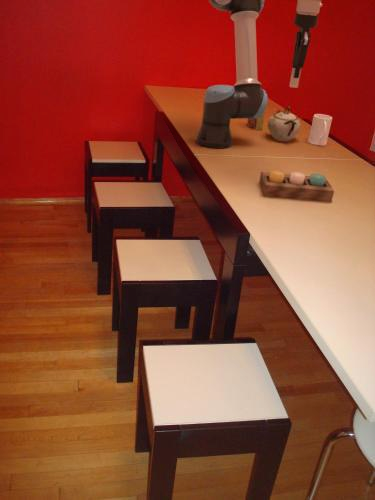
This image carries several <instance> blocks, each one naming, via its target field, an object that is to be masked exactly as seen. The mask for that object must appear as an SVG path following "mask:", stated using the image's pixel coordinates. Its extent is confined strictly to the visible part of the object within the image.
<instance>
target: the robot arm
mask: <svg viewBox="0 0 375 500" xmlns="http://www.w3.org/2000/svg"><path fill="white" fill-rule="evenodd" d="M208 2H209V3H210V5H211V6H212V7H214V9H216V10H218V11H221V12H222V11H223V12H229V13H230V19H231V20H232V21H233V22H234V40H235V42H234V44H235V47H234V48H235V49H234V50H235V66H236V67H235V69H236V72H235V73H236V82H235V84H234V85H230V84H229V85H228V84H215V85H211V86H209V87H207V89H206V90H205V92H204V93H205V94H204V98H203V109H202V119H201V125H200V127H199V130H198V132H197V134H196V138H195V142H196V143H197V144H198V145H199V146H202V147H205V148H209V149H211V148H212V149H227V148H229V147H231V146H232V141H233V139H232V134H231V129H230V124H231V120H232V119H233V120H236V119H248V118H249V119H252V118H259V117H260V116H262V115H263V113H264V111H265V112H266V109H267V106H268V94H267V91H266V90H265V89H262V82H260V81H258V60H257V56H258V55H257V54H258V53H257V30H256V29H257V27H256V25H257V24H256V22H257V21H256V20H257V19H258V17H259V16H260V13H261V12H262V10H263V9H264V4H265V0H208ZM322 7H323V3H322V0H297V3H296V8H295V11H296V12H297V13H296V14H295V16H294V21H293V25H294V26H296V27H299V28H298V31H297V32H296V34H295V36H294V37H295V38H294V39H295V40H294V47H293V53H292V54H293V55H292V62H291V64H292V66H291V67H292V70H291V75H290V81H289V87H290V88H295V89H297V88H298V89H299V81H300V77H301V73H302V68H304V66H305V61H306V57H307V53H308V49H309V45H310V44H311V43H310V42H311V33H310V30H311V29H315V28H317V27H318V26H317V25H318V21H319V20H318V19H319V16H318V14H320V8H322Z"/></svg>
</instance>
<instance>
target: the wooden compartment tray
mask: <svg viewBox="0 0 375 500" xmlns="http://www.w3.org/2000/svg"><path fill="white" fill-rule="evenodd" d="M290 175H291V174H288V173H286V174H284V179H283V183H274V182H269V176H270V172H264V171H262V172H260V176H259V181H258V184H259V187H260V190H261V194H262V196H263V197H268V198H279V199H280V198H281V199H290V200H291V199H292V200H304V201H315V202H327V203H328V202H329V203H332V202H333V198H334V193H335V189H334V188H333V186H332V185H331V184H330V182H329V181H328V179H327V178H325V182H324V186H323V187H321V186H310V185H309V183H310V178H311V175H309V176H308V175H305V178H304V183H303V185H297V184H289V180H290Z"/></svg>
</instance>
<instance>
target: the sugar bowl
mask: <svg viewBox="0 0 375 500" xmlns="http://www.w3.org/2000/svg"><path fill="white" fill-rule="evenodd" d="M290 111H291V106H290V105H287V106H286V107H285V108H284V110H283V111H282V110H281V109H278V110H277V111H276V113H274V114H272V115H271V116H270V117H269V118H268V121H267V128H268V131H269V132H270V134H271V136H272V138H273V139H274V140H276V141H280V142H290V141H292V139H293V138H295V137H296V136H297V135H298V134H299V132H300V130H301V128H302V122H301V120H300V119H299V117H298V116H297V115H296V114H295V115H294V114H293V113H290Z"/></svg>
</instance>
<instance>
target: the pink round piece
mask: <svg viewBox="0 0 375 500" xmlns="http://www.w3.org/2000/svg"><path fill="white" fill-rule="evenodd" d="M289 175H290V180H289V184H297V185H303V183H304V178H305V176H306V175H305V174H304V173H303V172H299V171H292V172H290V174H289Z"/></svg>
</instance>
